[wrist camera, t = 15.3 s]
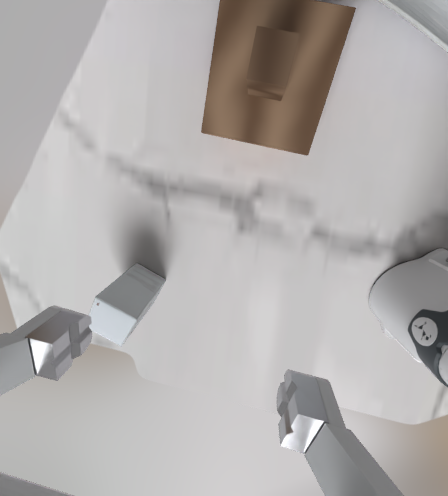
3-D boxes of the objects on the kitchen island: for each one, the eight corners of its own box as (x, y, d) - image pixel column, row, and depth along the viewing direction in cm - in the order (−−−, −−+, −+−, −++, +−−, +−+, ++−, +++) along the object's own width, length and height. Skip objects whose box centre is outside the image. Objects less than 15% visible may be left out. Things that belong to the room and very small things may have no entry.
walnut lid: (352, 12, 22) (383, -36, 17) (306, 155, 28) (319, 152, 22) (223, -10, 23) (213, -64, 18) (202, 133, 28) (190, 125, 23)
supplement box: (124, 286, 47) (81, 326, 35) (137, 261, 44) (94, 295, 32) (154, 303, 47) (120, 348, 36) (167, 279, 45) (136, 320, 33)
